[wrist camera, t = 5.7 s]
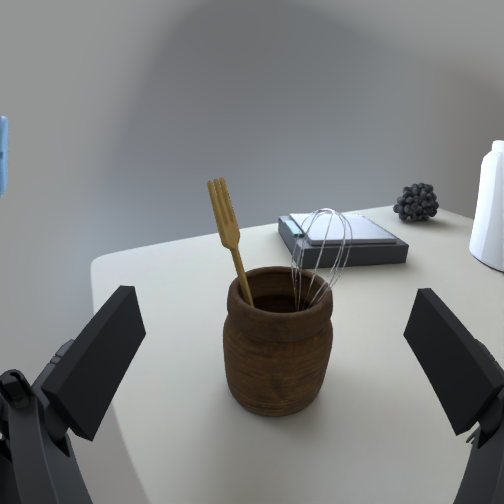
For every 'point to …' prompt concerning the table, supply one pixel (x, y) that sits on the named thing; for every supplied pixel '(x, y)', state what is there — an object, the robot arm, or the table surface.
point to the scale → (340, 241)
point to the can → (490, 211)
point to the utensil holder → (274, 324)
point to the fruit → (417, 202)
